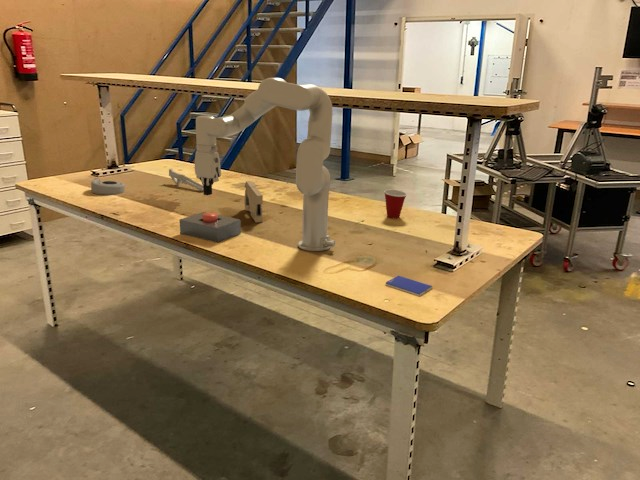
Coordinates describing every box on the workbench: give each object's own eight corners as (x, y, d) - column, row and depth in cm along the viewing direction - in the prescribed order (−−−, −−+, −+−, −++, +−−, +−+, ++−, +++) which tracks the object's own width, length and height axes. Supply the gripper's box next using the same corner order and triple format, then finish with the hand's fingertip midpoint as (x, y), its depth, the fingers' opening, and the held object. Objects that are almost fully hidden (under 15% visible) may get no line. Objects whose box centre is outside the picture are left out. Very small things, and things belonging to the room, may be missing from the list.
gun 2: (243, 208, 248) (243, 178, 242) (250, 208, 249) (250, 178, 243) (255, 227, 227) (256, 195, 221) (263, 227, 228) (263, 194, 222)
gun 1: (171, 180, 297) (171, 168, 294) (204, 198, 281) (205, 185, 278) (168, 181, 296) (168, 168, 292) (202, 199, 280) (203, 185, 277)
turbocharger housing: (121, 197, 268) (127, 191, 282) (120, 185, 266) (127, 179, 280) (86, 195, 265) (94, 188, 279) (86, 183, 263) (94, 177, 277)
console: (240, 233, 211) (240, 219, 210) (217, 242, 200) (217, 228, 198) (204, 225, 221) (203, 211, 219) (180, 233, 209) (179, 219, 208)
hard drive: (385, 282, 165) (419, 293, 158) (398, 275, 171) (432, 285, 164) (385, 286, 165) (419, 297, 158) (398, 279, 172) (432, 289, 164)
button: (220, 221, 210) (220, 214, 209) (210, 224, 205) (210, 217, 204) (209, 219, 213) (209, 212, 212) (199, 222, 208) (199, 215, 207)
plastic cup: (403, 221, 235) (405, 195, 231) (380, 218, 238) (381, 193, 234) (406, 215, 245) (409, 190, 241) (384, 212, 248) (386, 188, 244)
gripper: (227, 149, 199) (228, 195, 205) (198, 145, 206) (200, 190, 212) (214, 152, 193) (215, 199, 199) (185, 147, 200) (187, 193, 206)
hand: (207, 194), depth 205 cm, fingers closed
